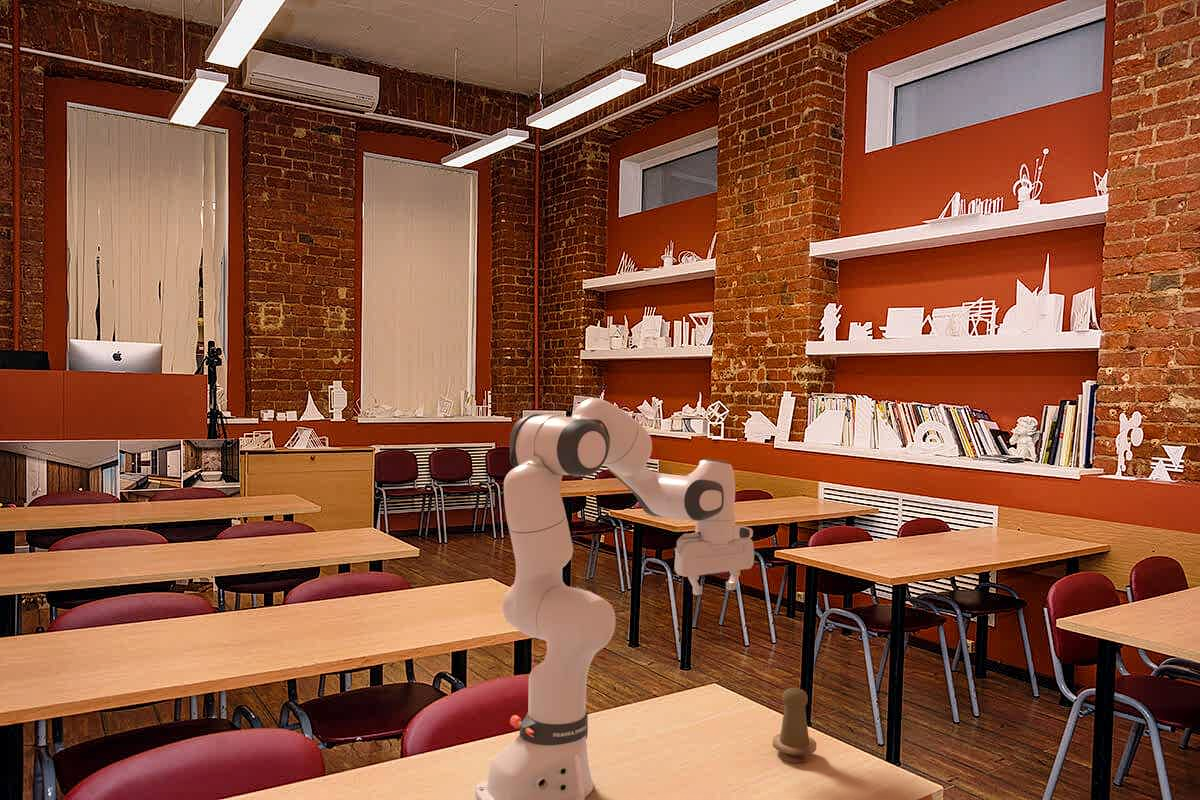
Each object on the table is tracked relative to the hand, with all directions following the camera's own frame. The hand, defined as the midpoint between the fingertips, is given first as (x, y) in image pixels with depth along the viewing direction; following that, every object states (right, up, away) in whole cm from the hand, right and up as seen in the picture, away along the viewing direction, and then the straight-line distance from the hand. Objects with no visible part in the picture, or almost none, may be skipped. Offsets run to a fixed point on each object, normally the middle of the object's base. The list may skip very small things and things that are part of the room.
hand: (714, 591), depth 195 cm
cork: (+15, -29, -14) cm, 35 cm away
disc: (+15, -32, -14) cm, 37 cm away
